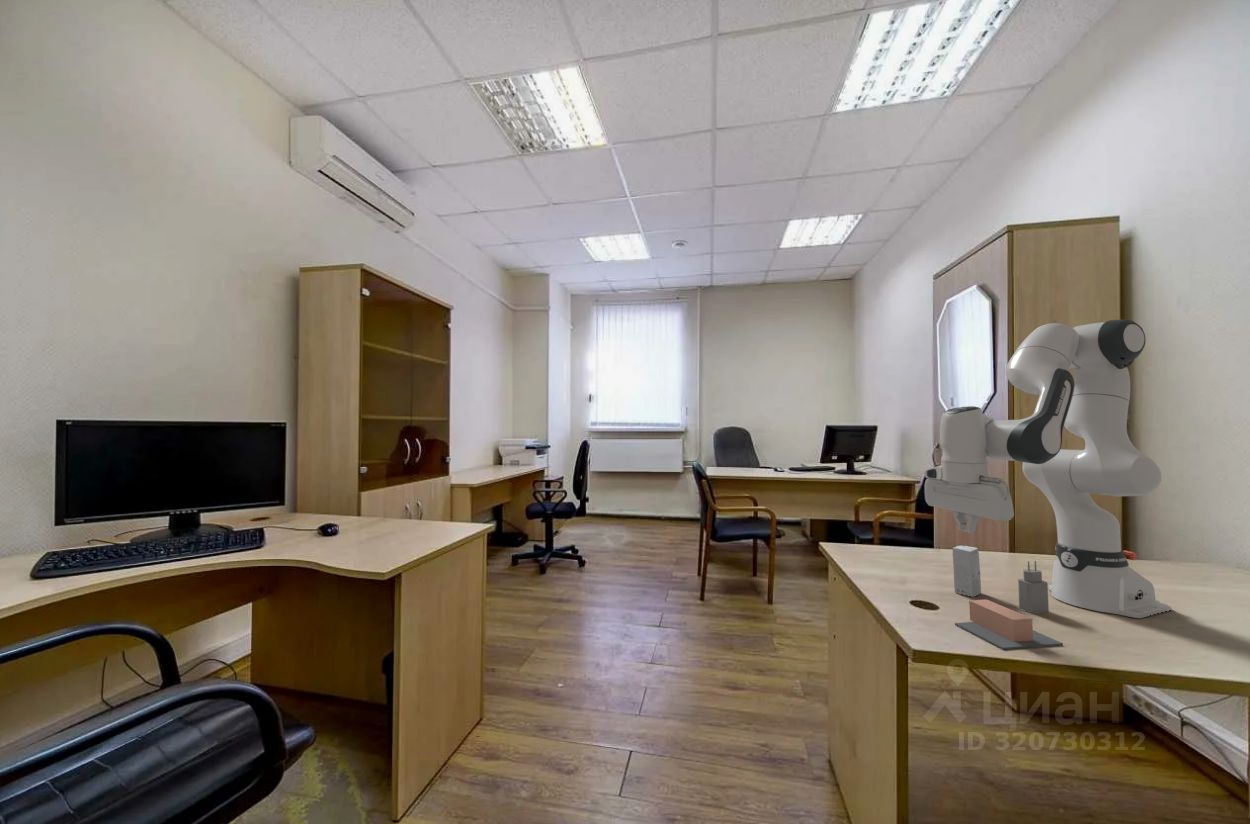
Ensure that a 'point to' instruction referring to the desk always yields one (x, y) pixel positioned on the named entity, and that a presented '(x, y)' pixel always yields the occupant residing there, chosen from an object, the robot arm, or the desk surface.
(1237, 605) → the desk surface
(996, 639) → the mat
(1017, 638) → the block
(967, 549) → the skincare box
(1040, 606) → the power adapter
